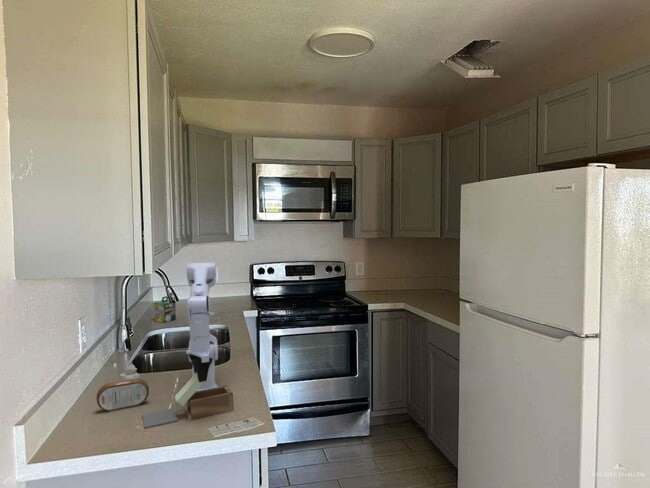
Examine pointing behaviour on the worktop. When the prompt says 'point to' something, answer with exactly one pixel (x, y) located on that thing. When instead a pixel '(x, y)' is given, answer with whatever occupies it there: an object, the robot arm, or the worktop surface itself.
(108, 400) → the tin
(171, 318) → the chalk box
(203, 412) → the pocket block
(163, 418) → the mat
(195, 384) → the sage bar
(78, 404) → the worktop surface
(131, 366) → the white tapered cone
